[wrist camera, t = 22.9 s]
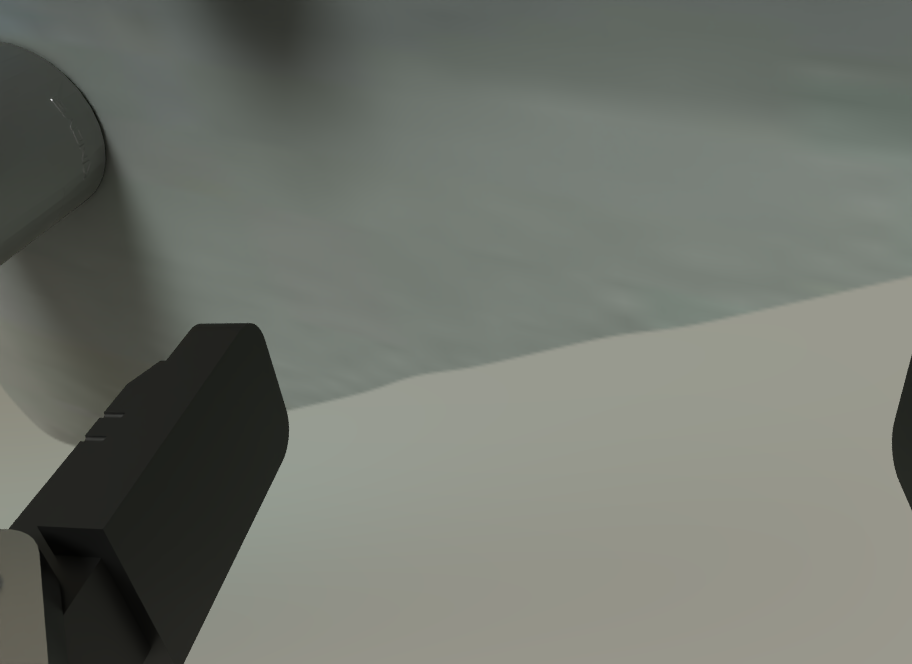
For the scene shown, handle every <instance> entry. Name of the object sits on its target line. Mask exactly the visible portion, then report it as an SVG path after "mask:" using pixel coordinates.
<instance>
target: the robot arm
mask: <svg viewBox="0 0 912 664" xmlns="http://www.w3.org/2000/svg"><path fill="white" fill-rule="evenodd" d="M105 162H106V156H105V143H104V140H103V136H102V133H101V129H100V125H99V123H98V121H97V119H96V117H95V115H94V113H93V111H92V109H91V107H90V105H89V104H88V103H87V101H86V100H85V98H84V97H83V95H82V94H81V92H80V91H79V90H78V88H77V87H76V86H75V85H74V84H73V83H72V82H71V81H70V80H69V79H68V78H67V77H66V76H65V75H64V74H63V73H62V72H61V71H60V70H58V69H57V68H56V67H54V66H53V65H52V64H51V63H49V62H48V61H47V60H45V59H43V58H42V57H40V56H38V55H36V54H34V53H33V52H31V51H29V50H27V49H24V48H21V47H18V46H15V45H13V44H10V43H2V42H0V265H2V264H3V263H4V262H6V261H7V260H8V259H10V258H11V257H12V256H13V255H15V254H16V253H17V252H19V251H20V250H21V249H23V248H24V247H25V246H27V245H28V244H29V243H30V242H32V241H33V240H34V239H36V238H37V237H38V236H40V235H41V234H42V233H44V232H45V231H46V230H48V229H49V228H50V227H52V226H53V225H54V224H56V223H57V222H58V221H60V220H61V219H62V218H63V217H65V216H66V215H67V214H69V213H70V212H71V211H73V210H74V209H75V208H77V207H78V206H79V205H80V204H82V203H83V202H84V201H86V200H87V199H88V198H89V197H90V196H91V195H92V194H93V193H94V192H95V190H96V189H97V188H98V186H99V184H100V182H101V179H102V177H103V175H104V168H105ZM104 414H105V416H104V418H99V419H98V420H97V422H96V423H95V424H94V425H93V427H92V428H91V429H90V430H89V431H88V433H87V434H86V435H85V437H86V439H85V442H81V441H80V442H79V444H78V445H77V446H76V447H75V448H74V450H73V451H72V452H71V453H70V455H69V456H68V457H67V458H66V460H65V461H64V462H63V463H62V464H61V466H60V467H59V468H58V469H57V470H56V472H55V473H54V474H53V475H52V477H51V478H50V479H49V480H48V482H47V483H46V484H45V485H44V486H43V488H42V489H41V490H40V491H39V493H38V494H37V495H36V496H35V497H34V499H33V500H32V501H31V502H30V503H29V505H28V506H27V507H26V508H25V509H24V511H23V512H22V513H21V514H20V516H19V517H18V518H17V519H16V520H15V522H14V523H13V524H12V525H11V527H10V528H9V529H0V664H184V662H185V660H186V657H187V656H188V654H189V652H190V650H191V647H192V645H193V643H194V641H195V639H196V637H197V635H198V633H199V631H200V629H201V627H202V625H203V623H204V621H205V619H206V617H207V615H208V613H209V611H210V609H211V607H212V604H213V602H214V600H215V598H216V596H217V594H218V592H219V590H220V588H221V586H222V584H223V582H224V580H225V578H226V576H227V574H228V572H229V570H230V567H231V566H232V563H233V561H234V559H235V557H236V555H237V553H238V551H239V549H240V547H241V545H242V543H243V541H244V539H245V537H246V535H247V533H248V531H249V529H250V527H251V525H252V522H253V521H254V518H255V516H256V514H257V512H258V510H259V508H260V506H261V504H262V502H263V500H264V498H265V496H266V494H267V491H268V490H269V488H270V486H271V484H272V482H273V480H274V478H275V475H276V473H277V471H278V469H279V467H280V465H281V463H282V461H283V459H284V456H285V453H286V450H287V445H288V437H289V422H288V415H287V411H286V407H285V404H284V401H283V398H282V394H281V391H280V388H279V384H278V381H277V378H276V374H275V371H274V368H273V365H272V361H271V358H270V355H269V351H268V348H267V345H266V342H265V339H264V336H263V334H262V332H261V330H260V329H259V327H258V326H256V325H255V324H253V323H225V324H198V325H196V326H194V327H193V328H192V329H191V330H190V331H189V332H188V334H187V335H186V336H185V337H184V339H183V340H182V341H181V343H180V344H179V345H178V346H177V348H176V349H175V350H174V351H173V353H172V354H171V355H170V357H169V358H168V359H167V360H166V361H159V362H158V363H157V364H155V365H154V366H152V367H151V368H150V369H148V370H147V371H145V372H144V373H143V374H141V375H140V376H138V377H137V378H135V379H134V380H133V381H131V382H130V383H128V384H127V385H126V386H125V388H124V389H123V390H122V391H121V392H120V394H119V395H118V396H117V397H116V398H115V400H114V401H113V402H112V403H111V405H110V406H109V407H108V408H107V409H106V411H105V412H104ZM892 452H893V461H894V466H895V470H896V474H897V477H898V479H899V482H900V484H901V486H902V489H903V491H904V493H905V496H906V498H907V500H908V502H909V505H910V507H911V509H912V356H911V360H910V364H909V368H908V371H907V375H906V379H905V383H904V387H903V391H902V394H901V398H900V402H899V406H898V410H897V413H896V418H895V422H894V426H893V433H892Z"/></svg>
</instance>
